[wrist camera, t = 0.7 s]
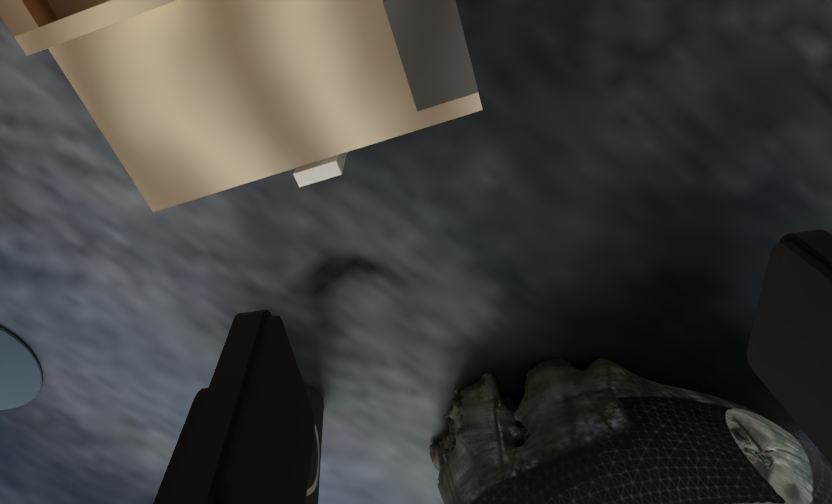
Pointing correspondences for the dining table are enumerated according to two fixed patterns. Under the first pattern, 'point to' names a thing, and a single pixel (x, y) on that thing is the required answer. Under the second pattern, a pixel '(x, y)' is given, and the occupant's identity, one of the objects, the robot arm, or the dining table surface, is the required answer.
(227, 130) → the beige flat panel
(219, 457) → the robot arm
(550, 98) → the dining table surface
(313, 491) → the coffee cup
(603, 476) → the basket
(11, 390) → the cocktail glass
